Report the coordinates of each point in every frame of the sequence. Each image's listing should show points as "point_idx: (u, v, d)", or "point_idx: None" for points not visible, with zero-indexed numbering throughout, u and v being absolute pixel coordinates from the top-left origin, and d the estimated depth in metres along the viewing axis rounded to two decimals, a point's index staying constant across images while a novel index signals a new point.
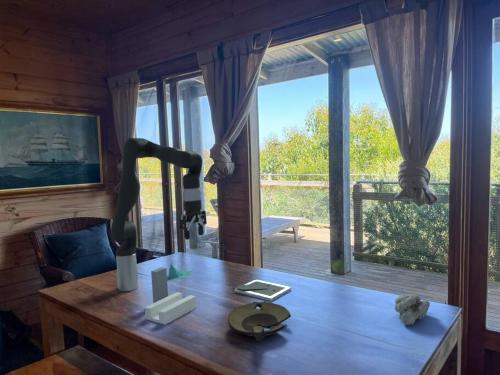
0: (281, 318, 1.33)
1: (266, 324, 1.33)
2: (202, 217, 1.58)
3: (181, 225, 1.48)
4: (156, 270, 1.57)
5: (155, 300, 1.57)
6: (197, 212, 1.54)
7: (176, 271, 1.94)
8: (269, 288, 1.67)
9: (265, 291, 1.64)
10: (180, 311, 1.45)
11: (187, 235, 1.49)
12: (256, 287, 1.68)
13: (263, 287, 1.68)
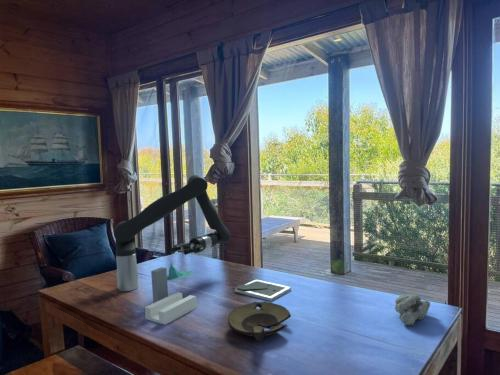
0: (281, 318, 1.33)
1: (266, 324, 1.33)
2: (179, 247, 1.77)
3: None
4: (156, 270, 1.57)
5: (155, 300, 1.57)
6: None
7: (176, 271, 1.94)
8: (269, 288, 1.68)
9: (265, 291, 1.64)
10: (180, 311, 1.45)
11: (188, 253, 1.67)
12: (256, 287, 1.68)
13: (263, 287, 1.68)
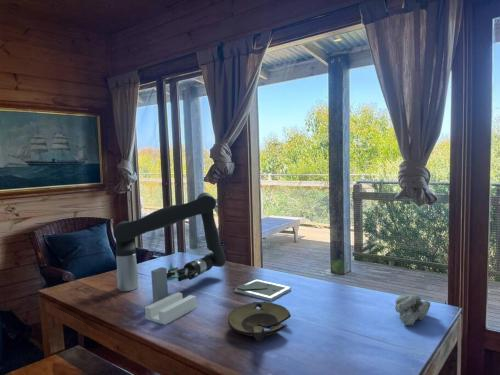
0: (281, 318, 1.33)
1: (266, 324, 1.33)
2: (174, 271, 1.74)
3: None
4: (156, 270, 1.57)
5: (155, 300, 1.57)
6: None
7: None
8: (269, 288, 1.68)
9: (265, 291, 1.64)
10: (180, 311, 1.45)
11: (182, 279, 1.64)
12: (256, 287, 1.68)
13: (263, 287, 1.68)
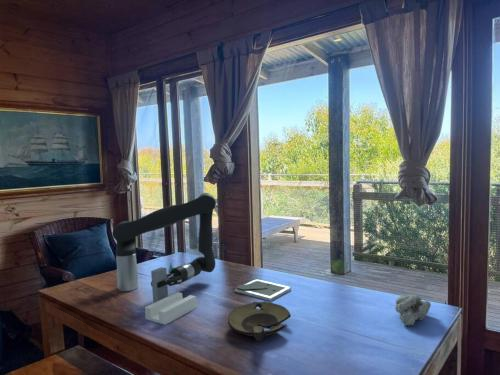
0: (281, 318, 1.33)
1: (266, 324, 1.33)
2: None
3: None
4: (156, 270, 1.57)
5: (155, 300, 1.57)
6: None
7: None
8: (269, 288, 1.68)
9: (265, 291, 1.65)
10: (180, 311, 1.45)
11: (161, 286, 1.57)
12: (256, 287, 1.68)
13: (263, 287, 1.69)
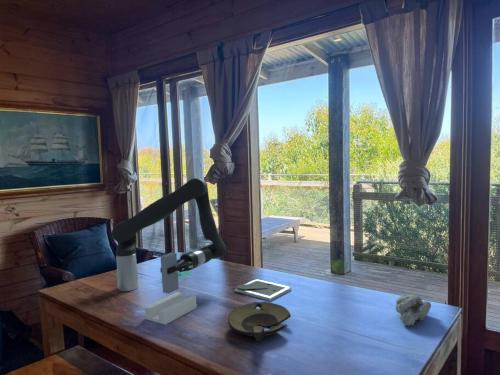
0: (281, 318, 1.33)
1: (266, 324, 1.33)
2: None
3: None
4: (166, 255, 1.47)
5: (165, 287, 1.46)
6: None
7: None
8: (269, 288, 1.68)
9: (265, 290, 1.65)
10: (180, 311, 1.45)
11: (171, 272, 1.46)
12: (256, 287, 1.68)
13: (263, 287, 1.69)
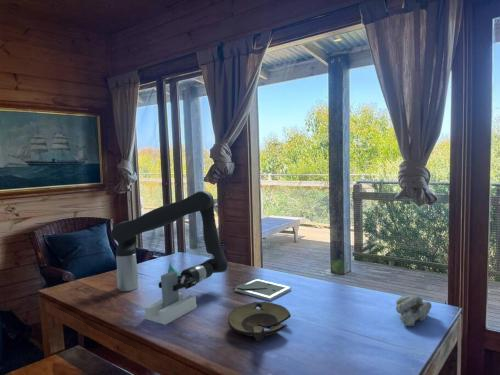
0: (281, 318, 1.33)
1: (266, 324, 1.33)
2: None
3: None
4: (166, 275, 1.46)
5: None
6: None
7: (175, 271, 1.93)
8: (269, 288, 1.68)
9: (265, 290, 1.65)
10: (180, 311, 1.45)
11: (177, 289, 1.45)
12: (256, 287, 1.68)
13: (263, 287, 1.69)
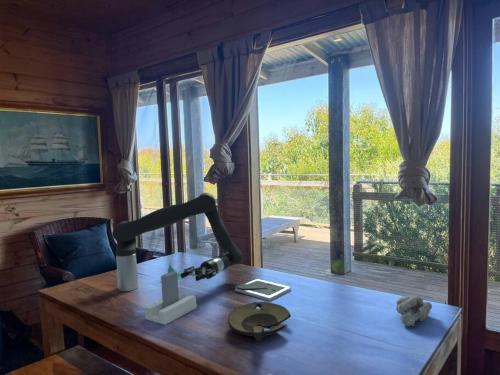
0: (281, 318, 1.33)
1: (266, 324, 1.33)
2: (190, 271, 1.66)
3: None
4: (166, 275, 1.46)
5: None
6: None
7: (175, 271, 1.93)
8: (269, 288, 1.68)
9: (264, 290, 1.65)
10: (180, 311, 1.45)
11: None
12: (256, 287, 1.69)
13: (263, 286, 1.69)
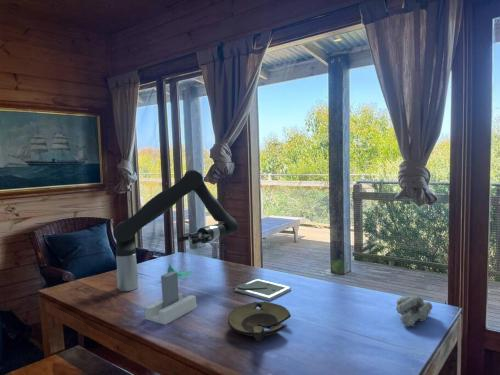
0: (281, 318, 1.33)
1: (266, 324, 1.33)
2: (187, 236, 1.72)
3: None
4: (166, 275, 1.46)
5: None
6: None
7: None
8: (269, 288, 1.68)
9: (264, 290, 1.65)
10: (180, 311, 1.45)
11: (196, 242, 1.61)
12: (256, 287, 1.69)
13: (263, 286, 1.69)
